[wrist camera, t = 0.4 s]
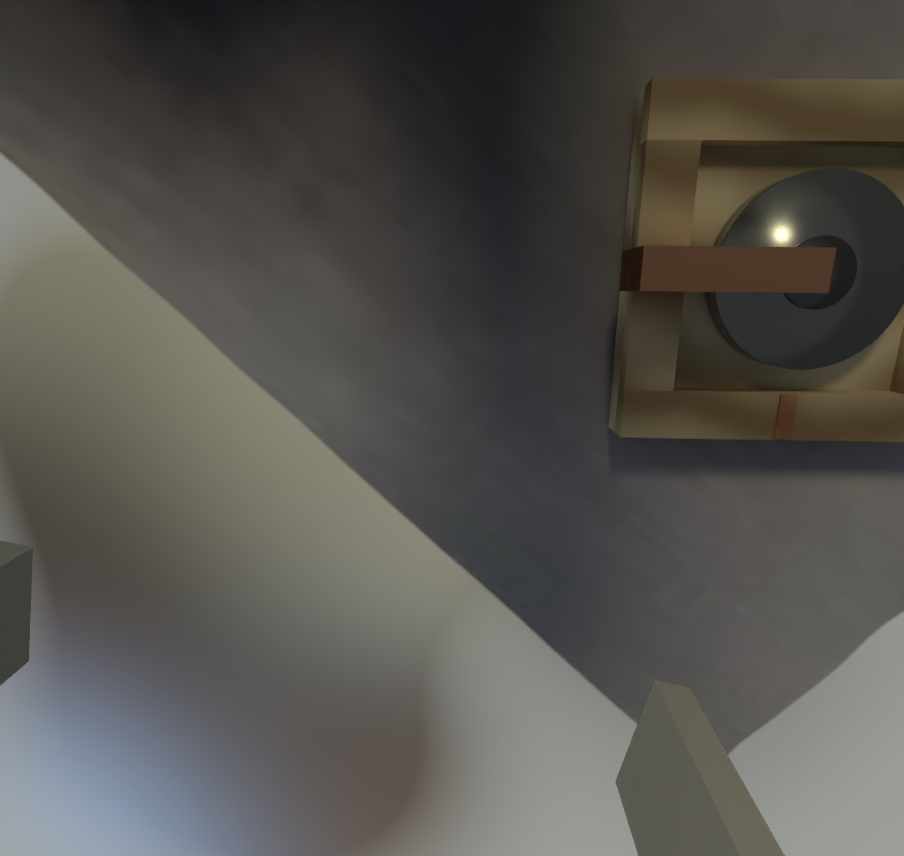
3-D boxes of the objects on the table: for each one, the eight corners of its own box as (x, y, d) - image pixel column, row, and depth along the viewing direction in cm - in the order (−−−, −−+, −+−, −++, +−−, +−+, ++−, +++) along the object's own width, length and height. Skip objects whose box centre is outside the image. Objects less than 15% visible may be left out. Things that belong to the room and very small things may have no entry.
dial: (912, 174, 31) (1003, 151, 26) (873, 367, 33) (948, 381, 28) (621, 172, 31) (652, 148, 26) (605, 363, 34) (631, 376, 29)
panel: (636, 96, 32) (653, 76, 29) (982, 98, 31) (1035, 78, 28) (608, 426, 37) (620, 438, 34) (907, 431, 36) (945, 443, 33)
